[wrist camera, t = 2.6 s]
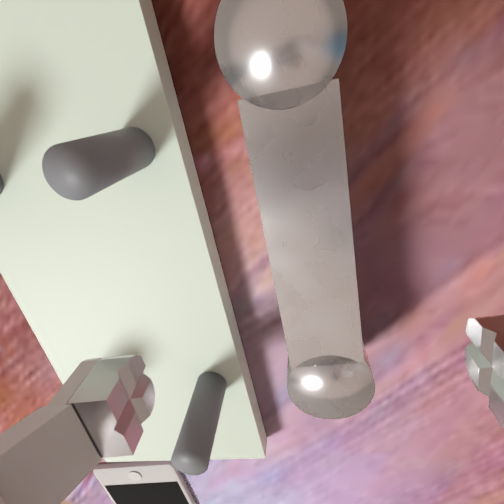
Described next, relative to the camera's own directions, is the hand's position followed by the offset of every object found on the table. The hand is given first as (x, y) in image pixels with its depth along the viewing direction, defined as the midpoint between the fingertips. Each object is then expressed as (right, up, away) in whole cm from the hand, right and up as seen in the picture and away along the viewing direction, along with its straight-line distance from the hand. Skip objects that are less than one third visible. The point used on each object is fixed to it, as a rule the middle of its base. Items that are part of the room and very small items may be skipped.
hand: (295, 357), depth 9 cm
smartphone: (-9, -21, +22) cm, 32 cm away
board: (-9, +1, +11) cm, 14 cm away
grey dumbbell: (+2, +4, +9) cm, 10 cm away
